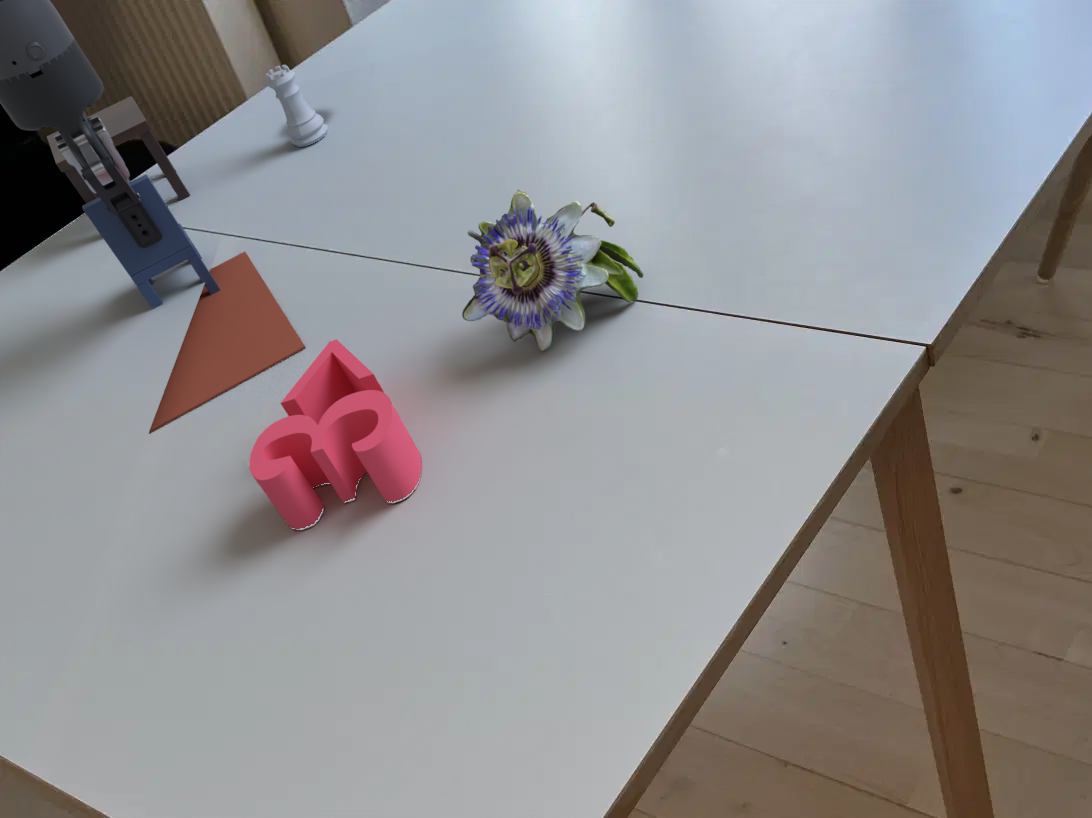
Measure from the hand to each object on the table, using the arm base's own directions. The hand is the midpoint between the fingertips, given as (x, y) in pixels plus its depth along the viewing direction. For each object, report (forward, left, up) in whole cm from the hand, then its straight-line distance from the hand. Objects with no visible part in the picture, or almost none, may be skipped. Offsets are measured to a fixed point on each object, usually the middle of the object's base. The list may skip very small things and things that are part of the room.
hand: (150, 239), depth 98 cm
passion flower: (+35, -18, -7) cm, 41 cm away
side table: (-13, +27, -7) cm, 30 cm away
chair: (-1, +2, -7) cm, 7 cm away
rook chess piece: (+7, +30, -7) cm, 32 cm away
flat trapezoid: (+2, -6, -7) cm, 10 cm away
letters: (+19, -28, -7) cm, 35 cm away
